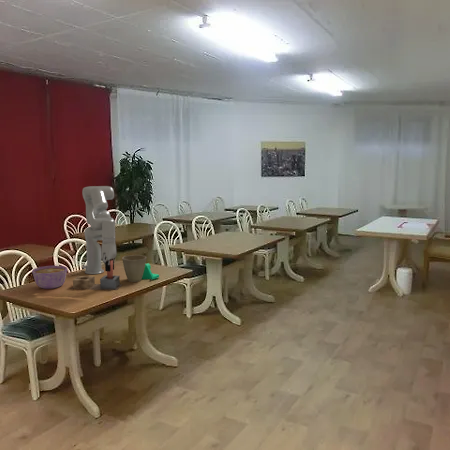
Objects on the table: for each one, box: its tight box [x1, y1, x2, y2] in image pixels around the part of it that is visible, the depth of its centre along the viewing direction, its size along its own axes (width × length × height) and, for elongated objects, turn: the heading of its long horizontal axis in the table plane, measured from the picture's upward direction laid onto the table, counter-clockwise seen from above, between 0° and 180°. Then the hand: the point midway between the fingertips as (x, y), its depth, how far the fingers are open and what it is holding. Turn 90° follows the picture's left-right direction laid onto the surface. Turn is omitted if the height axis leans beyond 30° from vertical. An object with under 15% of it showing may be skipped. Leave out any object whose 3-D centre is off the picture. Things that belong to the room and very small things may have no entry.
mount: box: [72, 275, 96, 290], centre depth 281 cm, size 10×9×5 cm
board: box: [70, 283, 123, 291], centre depth 281 cm, size 28×12×1 cm, turn 86°
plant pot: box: [122, 254, 147, 283], centre depth 296 cm, size 15×15×16 cm
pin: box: [106, 260, 114, 279], centre depth 279 cm, size 3×3×12 cm
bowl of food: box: [31, 265, 68, 290], centre depth 281 cm, size 20×20×12 cm
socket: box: [99, 274, 121, 289], centre depth 280 cm, size 9×9×6 cm
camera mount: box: [141, 262, 160, 280], centre depth 305 cm, size 12×8×10 cm, turn 57°
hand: (109, 270), depth 279 cm, fingers closed on pin, 3 cm apart
